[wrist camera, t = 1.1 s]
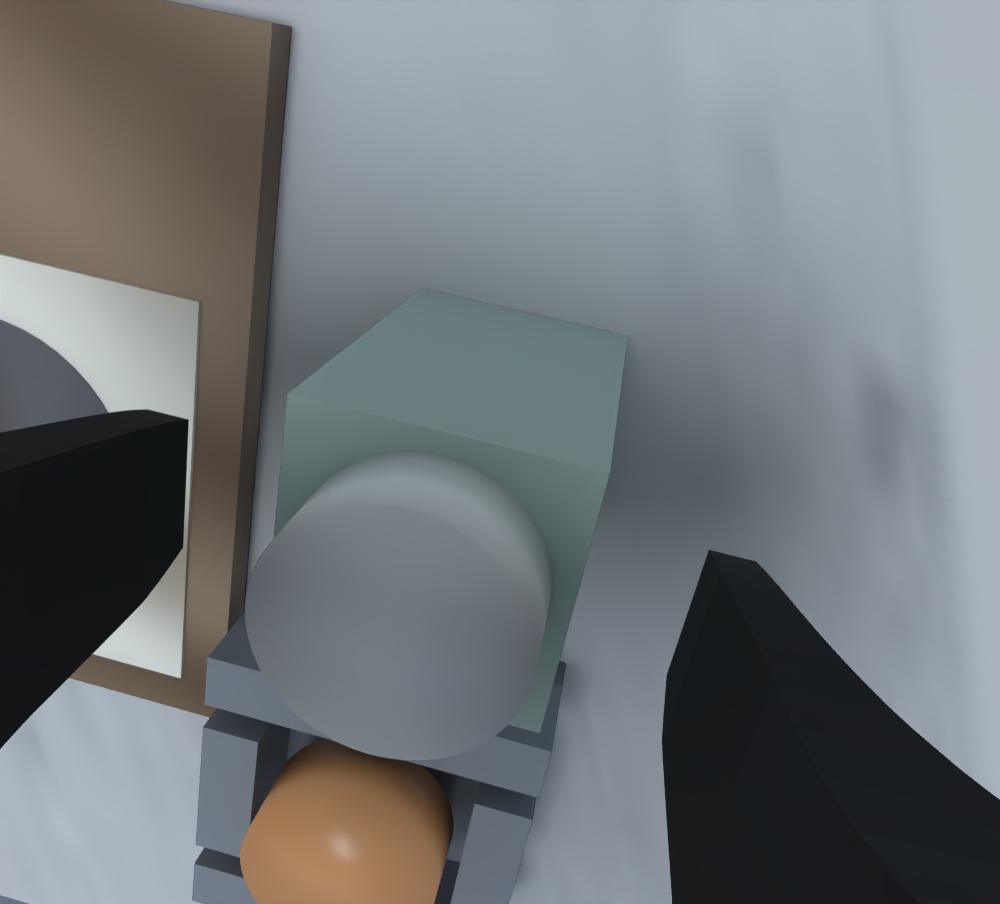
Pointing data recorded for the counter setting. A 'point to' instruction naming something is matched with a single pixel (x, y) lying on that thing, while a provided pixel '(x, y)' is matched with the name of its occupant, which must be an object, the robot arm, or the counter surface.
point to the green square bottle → (435, 525)
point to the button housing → (281, 733)
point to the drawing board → (145, 274)
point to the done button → (348, 831)
